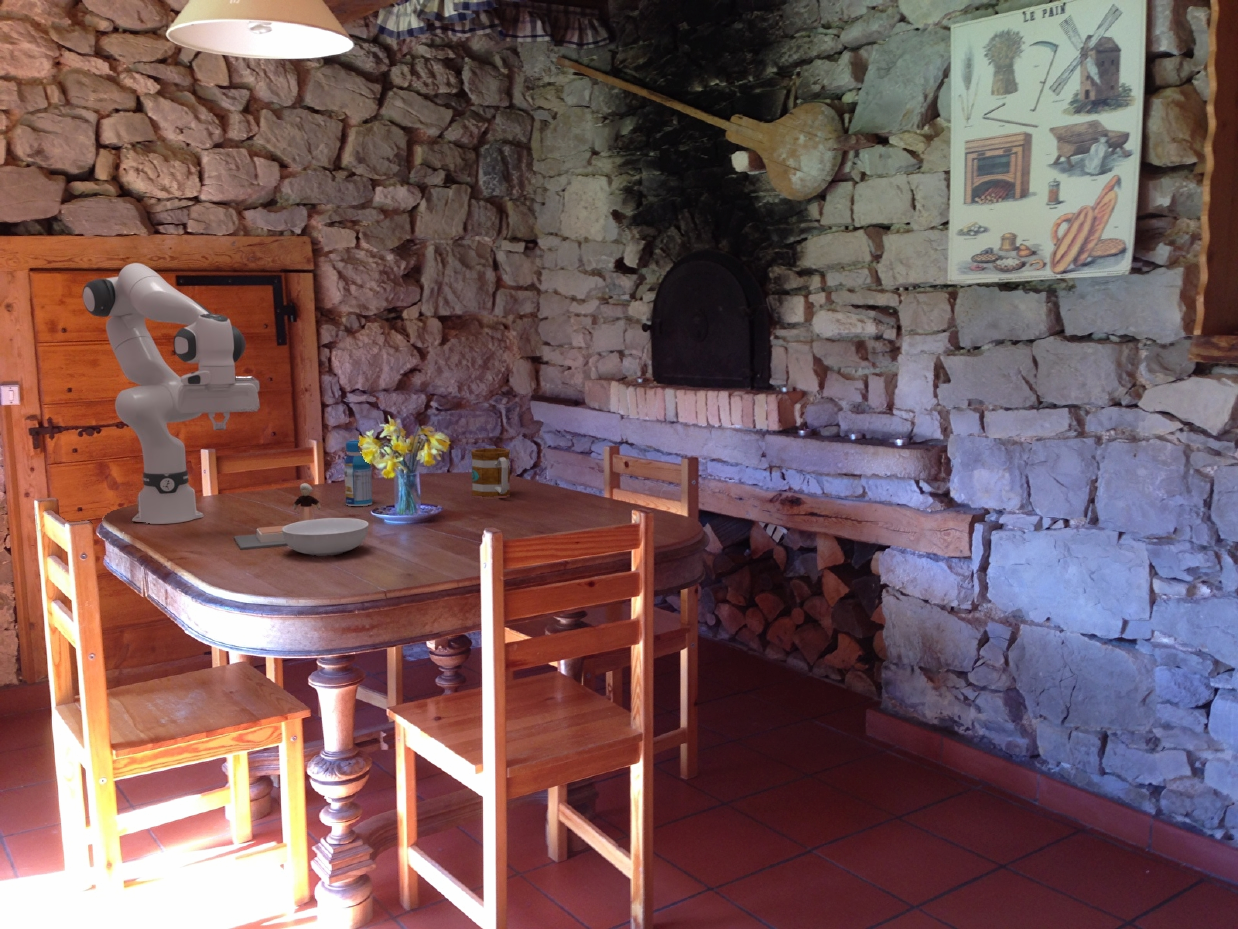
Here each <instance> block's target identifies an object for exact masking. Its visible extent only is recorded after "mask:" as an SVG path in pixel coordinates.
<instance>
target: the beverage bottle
mask: <svg viewBox="0 0 1238 929" xmlns="http://www.w3.org/2000/svg"><path fill="white" fill-rule="evenodd" d="M360 440H361V439H360ZM360 440H358V439H357V440H356V439H354V440H348V441H346V442H345V450H346V453H348V454H347V455H346V457H345V458H344V459H345V460H344V462H343V465H344V467H345V468H344V470H343V475H344V489H345V494H344V495H345V505H346V506H347V505H348V506H347V507H351V506H363V507H368V505H369V506H371V505H373V488H372V486H373V484H372V483H373V482H372V479H373V478H372V474H373V469H372V467H371V465H372V463H371V464H369V463H367V462H365V460H364V459H363V456H362V455H361V453H360V451H359V449H358V443H359V441H360Z"/></svg>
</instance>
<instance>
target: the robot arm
mask: <svg viewBox="0 0 1238 929" xmlns="http://www.w3.org/2000/svg"><path fill="white" fill-rule="evenodd" d="M82 301H83V304H84V307H85V309H86V310H87V312H88V313H89V314H91V315H92V316H93V317H99V318H107V317H109V318H108V319H107V321H106V324H105V326H106V327H105V328H106V329H105V330H106V332H107V333H106V334H107V337H108V341H109V344H110V347H111V349H112V351H113V354H114V355H115V358H116V360H117V362H118V364H119V366H120V368H121V370H122V372H123V375H124V376H125V378H127V379H128V380H129V381H131V382H133V383H135V384H137V385H138V386H134V387H130V388H127V389H123V390H121V391H119V393H118V394H117V395H116V396H117V397H116V398H115V403H114V406H115V407H114V408H115V412H116V414H117V416H118V418H119V419H120V421H122V422H123V423H124V424H126V425H128V427H130V428H131V429H132V430H133V431H134V433H135V435H137V436H136V437H137V438H138V440H139V443H140V446H141V450H142V459H143V470H144V471H143V473H142V483H143V484H142V485H144V487H143V488H142V489H141V490H140V491H139V493H138V495H137V498H136V504H137V505H138V506H137V511H138V513H137V514H136V515H135V516H134V517H133V518H132V520H131V522H132V521H140V522H146V523H145V524H148V523H150V524H149V525H165V524H177V523H183V522H189V521H192V520H195V519H200V518H204V513H203V512H200V511H199V510H197V504H196V503H197V502H196V492H195V489H194V488H193V487H191V485H190V484H189V477H190V476H189V470H188V469H187V459H186V447H185V444H184V442H183V441H182V440H181V439H180V438H177V437H176V436H174V435H171V433H170V431H169V429H168V424H169V423H170V424H171V423H181V422H186V421H190V420H193V419H196V418H198V417H200V416H201V415H202V414H208V416H207V417H208V418H209V419H210V421H211V423H212V424H213V426H212V427H213V428H212V429H213V431H221V430H223V431H225V430H226V429H227V424H226V423H227V422H229V418H230V417H231V416H230V413H243V412H245V413H246V412H249V413H250V412H258V411H259V409H260V399H259V391H260V388H261V387H260V381H259V380H258V379H257V378H255V377H253V376H236V364H235V363H237V362H238V361H239V360H240V359H241V358H242V356H243V354H244V353H245V351H246V348H247V347H246V346H247V344H246V343H247V342H246V339H245V337H244V335H243V334H242V332H241V331H240V330H239V329H238V328H237V327H236V326H234V325H232V323H231V320H230V318H229V317H227V316H226V315H223V314H219V313H218V314H217V313H213V312H212V311H210V310H209V309H208V308H206V307H205V306H204V305H202V304H201V303H199V302H198V301H196V300H194V299H192V298H191V297H189V296H187V295H185V294H183V293H182V292H180V291H179V290H177V289H176V288H175V287H173V286H172V285H171V284H170V283H168V282H167V281H166V280H165V279H164V278H163V277H162V276H161V275H160V274H159V273H158V272H156V271H155V270H153V269H151V268H150V267H149V266H148V265H147V266H146V264H143V263H140V262H135V263H134V262H133V263H130V264H129V263H128V264H127V265H125V266H124V267H123V268H121V270H120V271H119V273H118V276H112V277H108V278H96V279H93V280H90V281H88V282H87V283H86V284H85V285H84V287H83V289H82ZM146 319H148V320H150V321H154V322H160V323H161V322H162V323H171V324H179V325H185V327H182V328H180V329H179V330H177V332H176V333H175V335H174V337H173V341H172V342H173V351H174V354H175V355H176V357H177V358H178V359H180V361H182V362H183V363H188V364H198V370H197V371H193V372H190V373H187V374H183V375H182V376H179V375H178V374H177V373H176V372H175V371H174V370H173V369H172V368H171V367H170V366H169V365H168V364H167V362H165V360H164V358H163V357H162V354H161V353H160V351H159V349H158V347H157V345H156V343H155V341H154V339H153V338H152V335H151V333H150V332H149V330H148V328H147V325H146ZM216 413H217V414H219V413H222V415H223V417H224V419H223V420H222V421H221V422H216V420H215V419H214V418H215V416H216V415H215V414H216Z"/></svg>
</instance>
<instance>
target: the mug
mask: <svg viewBox="0 0 1238 929" xmlns="http://www.w3.org/2000/svg"><path fill="white" fill-rule="evenodd" d="M470 454H471V462H472V463H471V482H472V484H471V485H472V492H471V497H472V496H482V497H486V496H487V497H489V496H490V497H494V496H507V495H510V496H511V490H510V477H511V469H510V454H511V451H510V449H509V448H508V449H507V448H497V447H496V448H490V447H489V448H488V447H487V448H477V449H471V452H470Z"/></svg>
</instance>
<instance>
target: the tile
mask: <svg viewBox="0 0 1238 929" xmlns="http://www.w3.org/2000/svg"><path fill="white" fill-rule="evenodd" d="M284 526H285V525H276V526H264V527H258V528H256V530H255V531H256V532H255V533H256V534H257V538H258V539H259V541H260V542H261V543H265V542H276V541H285V540H284V537H283V533H282V528H283V527H284Z"/></svg>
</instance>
